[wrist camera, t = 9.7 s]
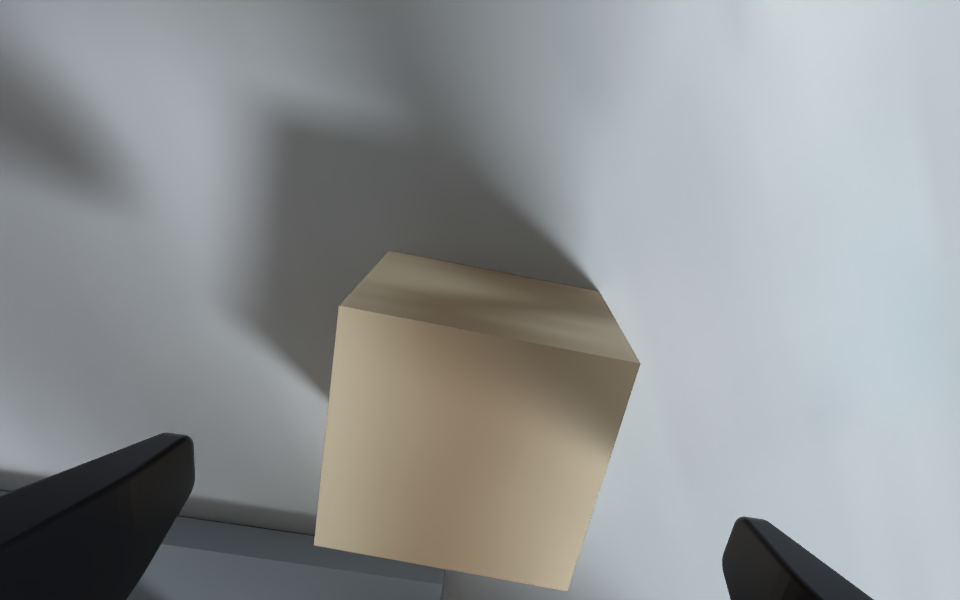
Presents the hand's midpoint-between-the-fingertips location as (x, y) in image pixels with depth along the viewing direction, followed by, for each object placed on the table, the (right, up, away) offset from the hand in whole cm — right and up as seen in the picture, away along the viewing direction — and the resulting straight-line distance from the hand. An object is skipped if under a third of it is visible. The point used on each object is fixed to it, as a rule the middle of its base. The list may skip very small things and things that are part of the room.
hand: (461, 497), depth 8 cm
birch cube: (0, +2, +5) cm, 5 cm away
